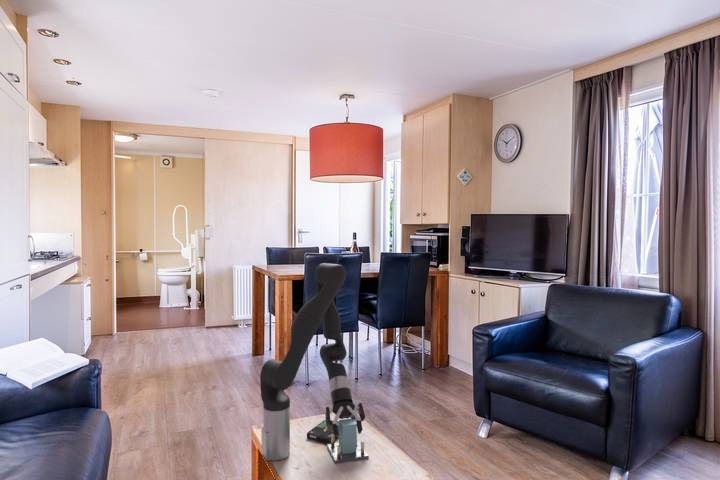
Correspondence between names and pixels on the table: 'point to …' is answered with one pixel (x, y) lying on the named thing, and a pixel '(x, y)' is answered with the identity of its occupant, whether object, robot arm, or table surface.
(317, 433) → the disk drive
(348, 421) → the teal block
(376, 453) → the table surface
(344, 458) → the chassis plate
